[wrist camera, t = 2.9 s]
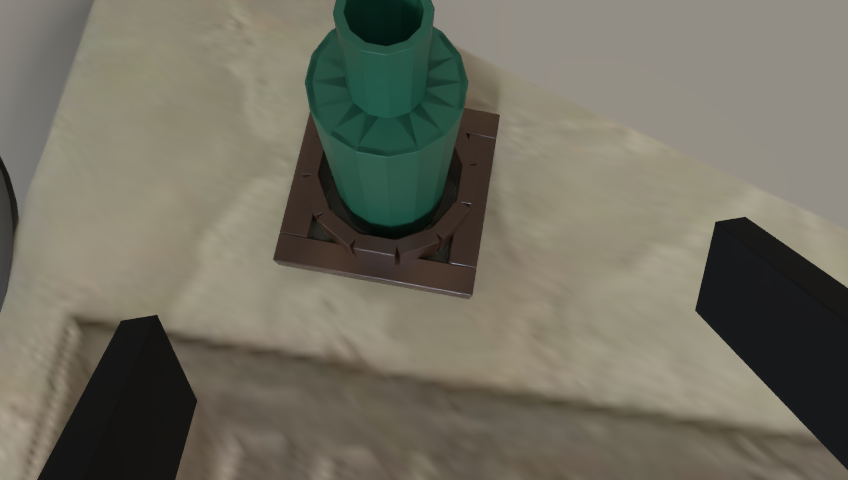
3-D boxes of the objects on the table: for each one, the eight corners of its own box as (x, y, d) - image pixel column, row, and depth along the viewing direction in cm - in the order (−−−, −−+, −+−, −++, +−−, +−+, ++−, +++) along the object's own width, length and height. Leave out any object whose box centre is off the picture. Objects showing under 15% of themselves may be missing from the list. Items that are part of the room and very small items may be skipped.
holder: (278, 264, 34) (262, 251, 30) (320, 92, 37) (311, 60, 33) (468, 299, 34) (478, 290, 30) (495, 124, 37) (507, 95, 33)
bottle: (332, 229, 35) (260, 80, 17) (353, 137, 36) (308, -88, 18) (431, 247, 35) (467, 117, 17) (448, 155, 36) (496, -54, 18)
